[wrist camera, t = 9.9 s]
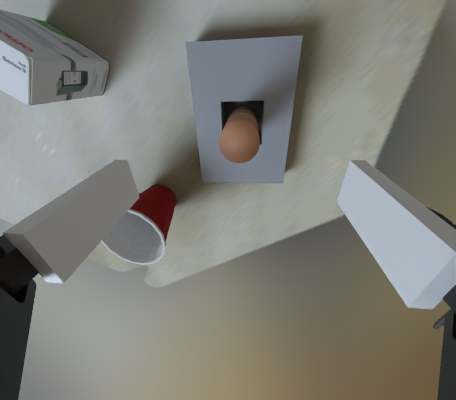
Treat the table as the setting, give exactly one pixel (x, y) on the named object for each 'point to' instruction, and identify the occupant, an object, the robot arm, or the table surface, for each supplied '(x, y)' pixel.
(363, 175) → the robot arm
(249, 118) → the peg
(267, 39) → the board
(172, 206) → the plastic cup
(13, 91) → the ink box
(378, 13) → the table surface
